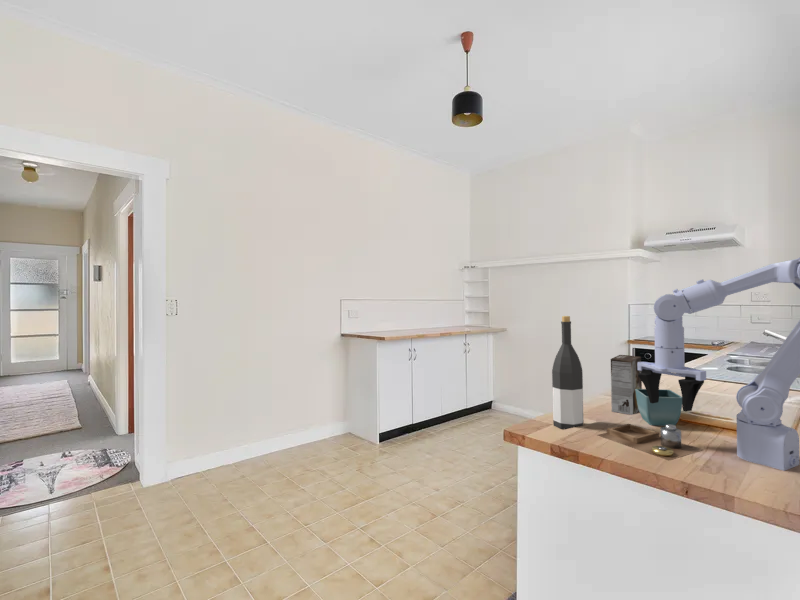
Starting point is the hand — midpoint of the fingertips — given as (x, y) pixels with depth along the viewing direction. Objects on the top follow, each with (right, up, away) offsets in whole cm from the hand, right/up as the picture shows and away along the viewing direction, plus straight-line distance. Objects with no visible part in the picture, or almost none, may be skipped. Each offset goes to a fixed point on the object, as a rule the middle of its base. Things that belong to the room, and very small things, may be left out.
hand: (670, 406), depth 97 cm
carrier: (-4, -10, +3) cm, 11 cm away
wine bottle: (-16, -10, +19) cm, 27 cm away
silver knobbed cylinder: (0, -9, 0) cm, 9 cm away
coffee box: (+7, -9, +32) cm, 34 cm away
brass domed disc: (-4, -9, -4) cm, 11 cm away
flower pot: (+8, -10, +17) cm, 21 cm away
